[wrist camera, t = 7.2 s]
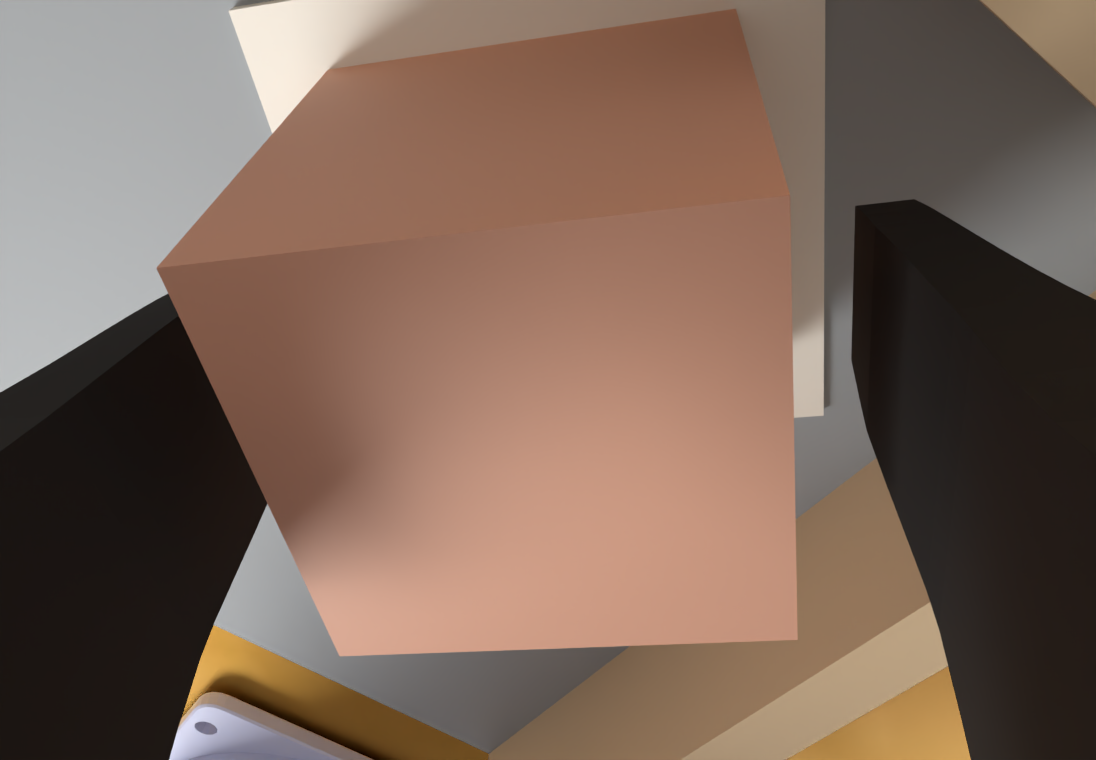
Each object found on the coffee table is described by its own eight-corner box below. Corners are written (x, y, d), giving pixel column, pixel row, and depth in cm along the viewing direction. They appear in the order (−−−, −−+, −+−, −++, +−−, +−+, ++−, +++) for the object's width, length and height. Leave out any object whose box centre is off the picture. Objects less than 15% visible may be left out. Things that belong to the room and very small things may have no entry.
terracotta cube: (752, 360, 13) (797, 640, 9) (425, 388, 14) (340, 656, 10) (735, 8, 11) (790, 194, 7) (328, 70, 11) (156, 267, 7)
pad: (822, 408, 14) (824, 415, 14) (386, 443, 15) (384, 449, 15) (823, -91, 10) (825, -89, 10) (233, 6, 11) (228, 10, 11)
